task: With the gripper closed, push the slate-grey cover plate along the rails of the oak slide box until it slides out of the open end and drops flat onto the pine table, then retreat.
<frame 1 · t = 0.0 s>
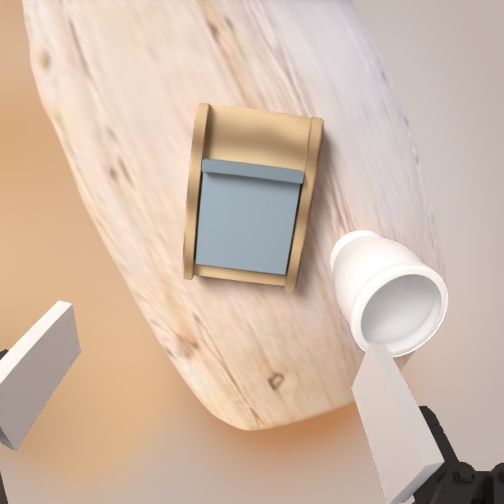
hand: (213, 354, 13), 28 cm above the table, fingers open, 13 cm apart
cover plate: (246, 216, 36), point 3 cm above the table, touching slide box
jar: (358, 258, 41), on the table
slide box: (249, 193, 38), on the table
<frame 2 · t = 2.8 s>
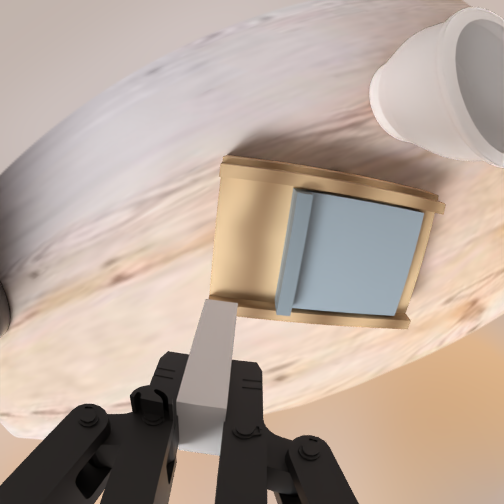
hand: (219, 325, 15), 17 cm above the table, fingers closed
cover plate: (348, 255, 28), point 3 cm above the table, touching slide box
jar: (404, 101, 26), on the table
slide box: (320, 240, 31), on the table
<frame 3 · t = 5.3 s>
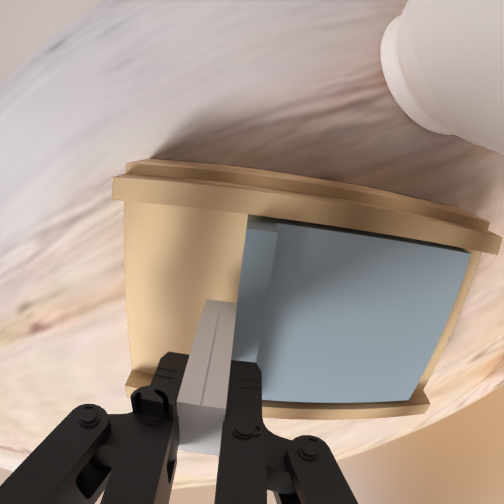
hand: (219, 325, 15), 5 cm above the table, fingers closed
cover plate: (345, 321, 17), point 3 cm above the table, touching gripper, slide box
jar: (434, 71, 15), on the table
slide box: (301, 289, 20), on the table
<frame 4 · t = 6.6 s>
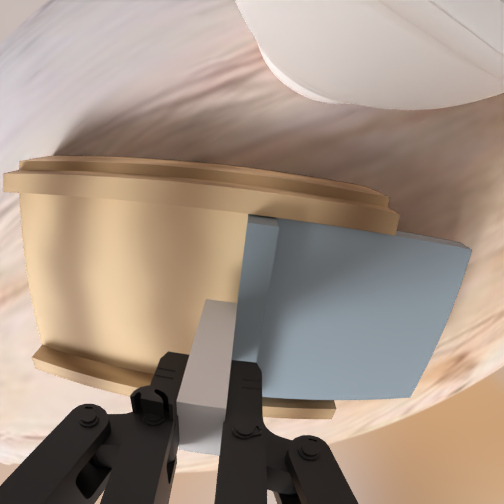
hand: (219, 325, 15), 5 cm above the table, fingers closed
cover plate: (346, 318, 17), point 4 cm above the table, touching gripper, slide box
jar: (328, 38, 15), on the table
slide box: (186, 275, 20), on the table
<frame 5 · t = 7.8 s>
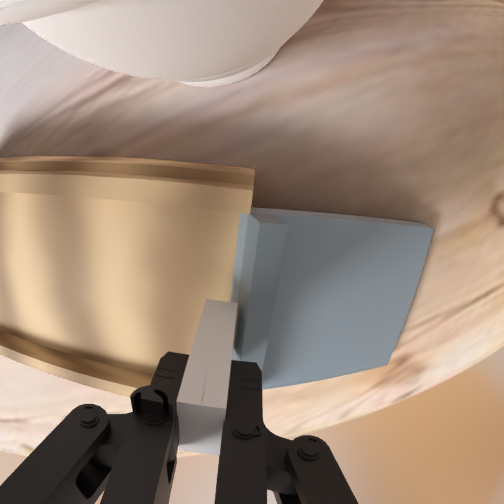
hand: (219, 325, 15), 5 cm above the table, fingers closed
cover plate: (329, 301, 18), point 2 cm above the table, tilted 18°, touching slide box
jar: (214, 23, 15), on the table
slide box: (93, 261, 19), on the table
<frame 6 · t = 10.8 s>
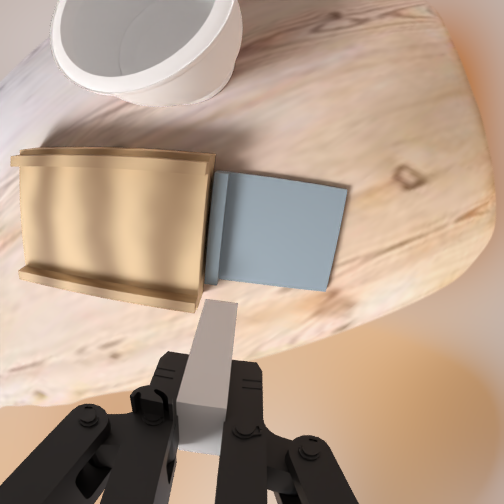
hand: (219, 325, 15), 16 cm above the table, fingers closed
cover plate: (274, 231, 31), on the table
jar: (190, 62, 25), on the table
slide box: (112, 216, 30), on the table
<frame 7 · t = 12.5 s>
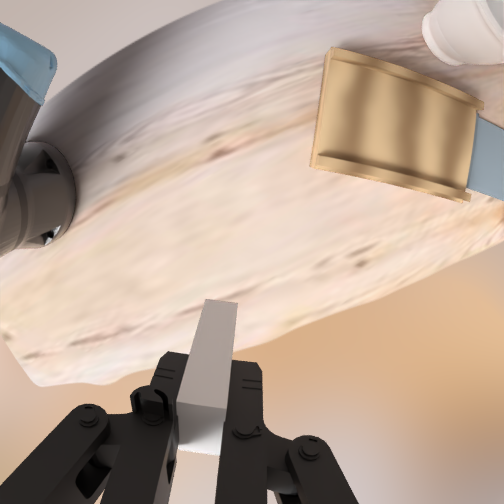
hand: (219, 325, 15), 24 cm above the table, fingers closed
cover plate: (486, 158, 34), on the table
jar: (444, 38, 29), on the table
slide box: (395, 127, 34), on the table
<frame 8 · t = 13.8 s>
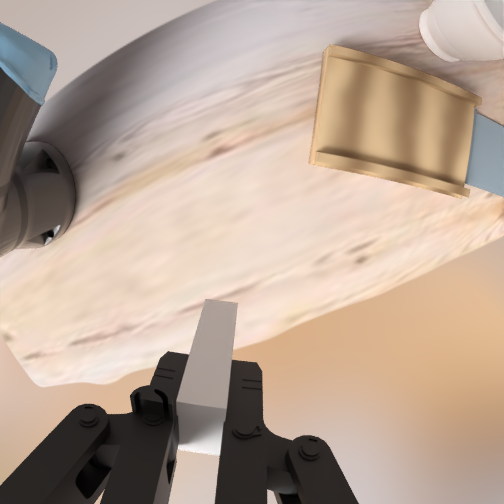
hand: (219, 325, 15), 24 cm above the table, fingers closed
cover plate: (485, 154, 35), on the table
jar: (442, 35, 29), on the table
slide box: (394, 124, 34), on the table
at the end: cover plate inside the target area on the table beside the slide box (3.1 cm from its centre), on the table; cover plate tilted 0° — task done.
